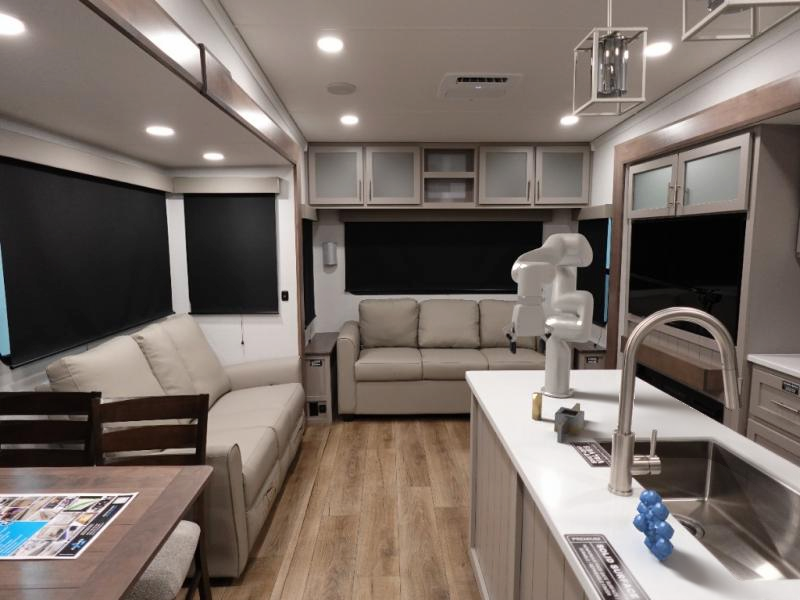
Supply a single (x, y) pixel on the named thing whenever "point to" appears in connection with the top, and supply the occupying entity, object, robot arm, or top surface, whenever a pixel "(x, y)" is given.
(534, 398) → the hinge pin
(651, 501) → the grapes
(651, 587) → the top surface
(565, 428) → the hinge
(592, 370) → the top surface
